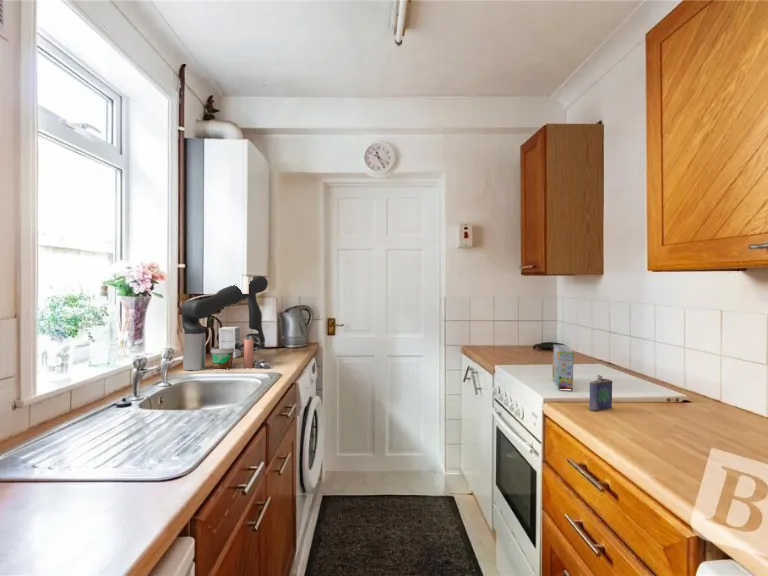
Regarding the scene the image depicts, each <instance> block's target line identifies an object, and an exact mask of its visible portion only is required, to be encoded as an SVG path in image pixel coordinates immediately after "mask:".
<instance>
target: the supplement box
mask: <svg viewBox="0 0 768 576" xmlns="http://www.w3.org/2000/svg"><path fill="white" fill-rule="evenodd" d="M236 343H240V344H241V343H242V342H241V326H223V327H220V328H218V349H222V348H224V349H229V348H234V352H233V359H237V358H238V356H239V357H241V356H242V353H241V352H242V349H241V350H239V349H235V344H236ZM236 357H237V358H236Z"/></svg>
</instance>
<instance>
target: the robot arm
mask: <svg viewBox="0 0 768 576" xmlns="http://www.w3.org/2000/svg"><path fill="white" fill-rule="evenodd" d="M253 276H254V277H253V280H252V281H250V284H249V294H242V292H241V290H240V289H239V288H238V287H237V286H235V285H236V284H233V286H232V285H229V286H227V287H224V288H221V289H220V290H218V291H217V292H216V294H215V295H212V296H210V297H207V298H204V299H187V300H186V301H184V303H183V304H182V307H181V322H182V323H181V325H182V328H183V333H184V335H183V338H184V339H183V343H184V346H183V349H182V357H184V360H183V359H182V370H184V371H188V370H193V371H201V370H200V369H202V370H204V368H205V369H206V327H205V326H204V325H202V323H201V322H200V320H201V319H204V318H206V317H209V316H210V315H211V314H213V313H215V312H217V311H218V310H221V309H224V308H226V307H229V306H231V305H233V304H235V303H238V302H240V301H242V300H244V299H246V301H247V305H248V306H247V307H248V328H249V329H250V330H255V331H257V333H248V334H247V335H245V337H253V352H255V351H256V350H258V351H259V350H261V349H263V350H264V349H266V347H265V346H266V344H265V343H266V342H265V341H266V337H265V334H264V330H263V323H262V322H263V314H262V310H261V308H260V306H259V304H258V301H257V294H258V293H263V292H265V290H267V288H268V286H269V280H268V279H267V278H266V277H264V276H262V275H253ZM235 349H239V350H241V351H242V350H243V351H244V342H241V344H240V343H236V344H235Z"/></svg>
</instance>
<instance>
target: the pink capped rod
mask: <svg viewBox="0 0 768 576" xmlns="http://www.w3.org/2000/svg"><path fill="white" fill-rule="evenodd" d="M243 343H244V350H243V369H246V368H249V369H254V366H253V361H254V351H253V337H246V336H245V337H244V339H243Z"/></svg>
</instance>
